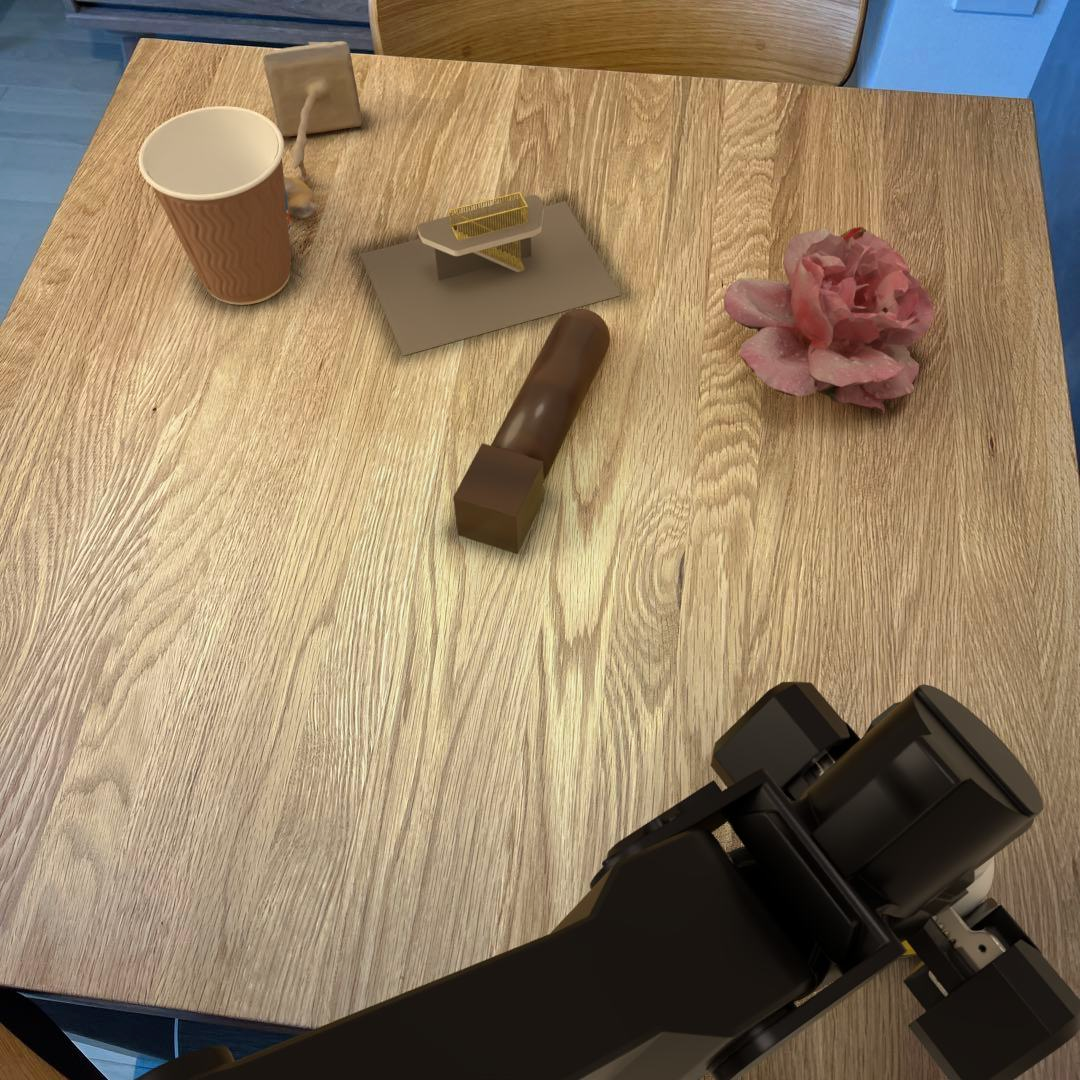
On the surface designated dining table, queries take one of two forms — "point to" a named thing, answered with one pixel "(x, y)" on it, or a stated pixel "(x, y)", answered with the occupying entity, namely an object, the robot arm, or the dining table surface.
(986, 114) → the dining table surface
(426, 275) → the platform
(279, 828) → the dining table surface
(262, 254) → the coffee cup
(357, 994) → the dining table surface
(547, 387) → the walnut leg
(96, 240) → the dining table surface
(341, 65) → the decorative sculpture
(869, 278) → the flower
